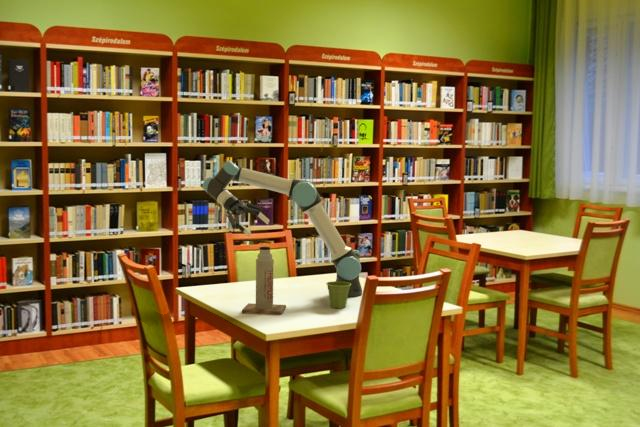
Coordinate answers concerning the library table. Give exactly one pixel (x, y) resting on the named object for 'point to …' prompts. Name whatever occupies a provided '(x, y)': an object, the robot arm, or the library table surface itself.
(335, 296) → the plant pot
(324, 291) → the library table surface
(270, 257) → the thermos bottle
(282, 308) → the walnut board
